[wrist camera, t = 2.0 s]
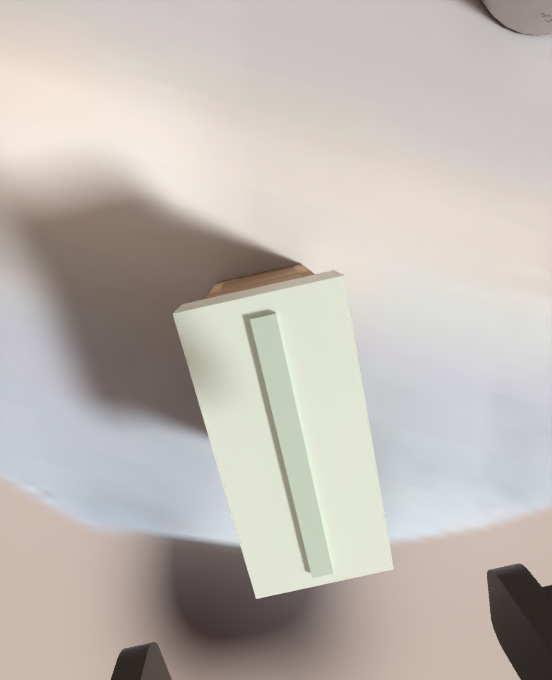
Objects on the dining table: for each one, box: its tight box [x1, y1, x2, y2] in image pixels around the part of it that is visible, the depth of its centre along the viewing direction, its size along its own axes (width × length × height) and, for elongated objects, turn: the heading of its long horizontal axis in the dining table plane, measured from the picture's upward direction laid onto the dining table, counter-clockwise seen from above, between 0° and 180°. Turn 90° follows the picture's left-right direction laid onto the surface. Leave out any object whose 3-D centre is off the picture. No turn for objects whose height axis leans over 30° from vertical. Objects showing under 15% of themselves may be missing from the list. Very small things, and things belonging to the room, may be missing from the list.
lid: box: [173, 270, 393, 599], centre depth 18 cm, size 14×7×3 cm, turn 12°
